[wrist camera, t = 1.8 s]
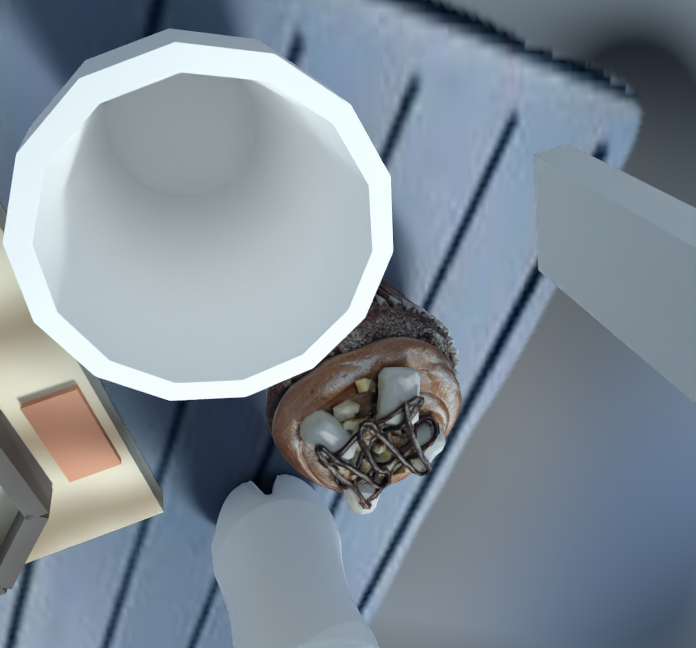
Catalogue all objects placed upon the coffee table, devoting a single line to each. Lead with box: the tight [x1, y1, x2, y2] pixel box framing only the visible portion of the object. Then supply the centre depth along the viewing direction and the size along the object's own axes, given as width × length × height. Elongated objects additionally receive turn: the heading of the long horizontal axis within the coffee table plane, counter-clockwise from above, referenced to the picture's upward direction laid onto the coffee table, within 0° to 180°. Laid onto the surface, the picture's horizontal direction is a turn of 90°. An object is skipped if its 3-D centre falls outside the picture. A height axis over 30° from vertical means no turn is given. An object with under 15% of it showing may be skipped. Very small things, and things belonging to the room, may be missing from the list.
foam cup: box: [3, 28, 393, 401], centre depth 21 cm, size 10×9×13 cm
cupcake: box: [266, 281, 462, 515], centre depth 30 cm, size 10×10×10 cm
